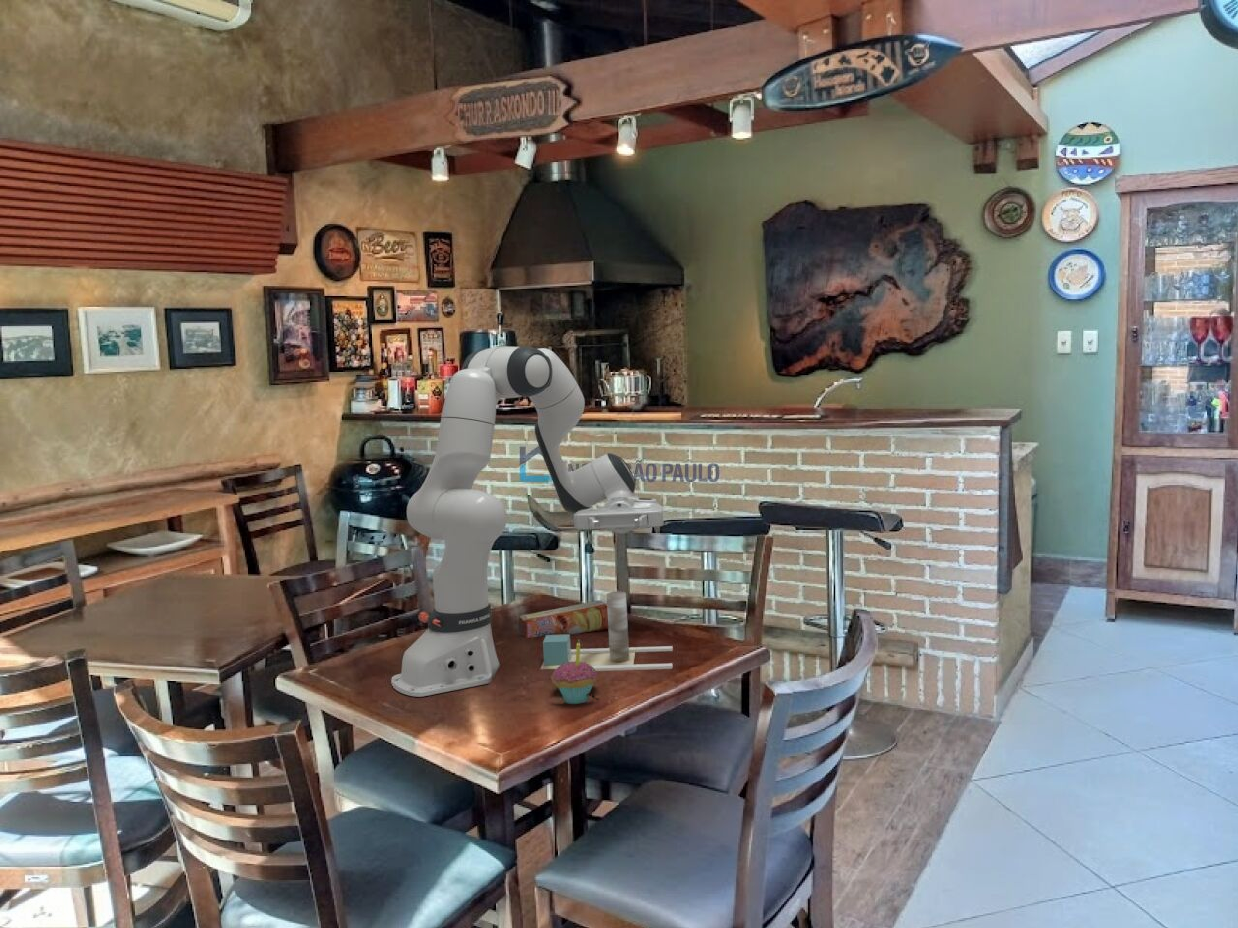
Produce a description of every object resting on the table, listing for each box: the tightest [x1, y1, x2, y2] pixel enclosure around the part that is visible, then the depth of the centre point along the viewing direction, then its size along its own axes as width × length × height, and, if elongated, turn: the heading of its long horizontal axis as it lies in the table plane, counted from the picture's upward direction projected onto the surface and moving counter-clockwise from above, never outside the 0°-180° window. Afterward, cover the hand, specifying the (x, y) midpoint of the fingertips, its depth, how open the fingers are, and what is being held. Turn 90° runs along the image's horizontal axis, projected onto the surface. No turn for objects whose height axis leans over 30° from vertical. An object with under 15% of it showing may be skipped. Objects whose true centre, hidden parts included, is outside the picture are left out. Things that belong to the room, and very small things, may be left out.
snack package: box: [517, 600, 608, 639], centre depth 215 cm, size 21×7×7 cm, turn 114°
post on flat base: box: [540, 590, 636, 670], centre depth 189 cm, size 19×9×15 cm, turn 86°
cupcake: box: [550, 639, 598, 705], centre depth 171 cm, size 9×8×12 cm
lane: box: [571, 645, 674, 672], centre depth 189 cm, size 23×13×2 cm, turn 86°
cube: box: [542, 634, 572, 666], centre depth 190 cm, size 5×5×5 cm
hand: (616, 524), depth 198 cm, fingers open, 8 cm apart
